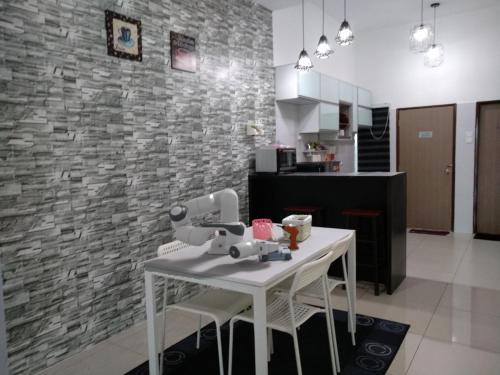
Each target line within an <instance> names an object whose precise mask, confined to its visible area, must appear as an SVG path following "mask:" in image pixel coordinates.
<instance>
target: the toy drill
mask: <svg viewBox="0 0 500 375" xmlns="http://www.w3.org/2000/svg"><path fill="white" fill-rule="evenodd" d="M276 227H278V228H281V229H282V230H283V229H284V230H285V231H286V232H288V233H289V234H291V235H290V237H289V239H290V240H289V242H290V244H289V245H287V249H289V250H293V251H296V250H299V249H300V247H299V245H298V243H297V242H298V241H296V237H297V235H298V234H299V229H298V228H297V227H295V226H284V225H283V226H282V225H279V224H276Z"/></svg>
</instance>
